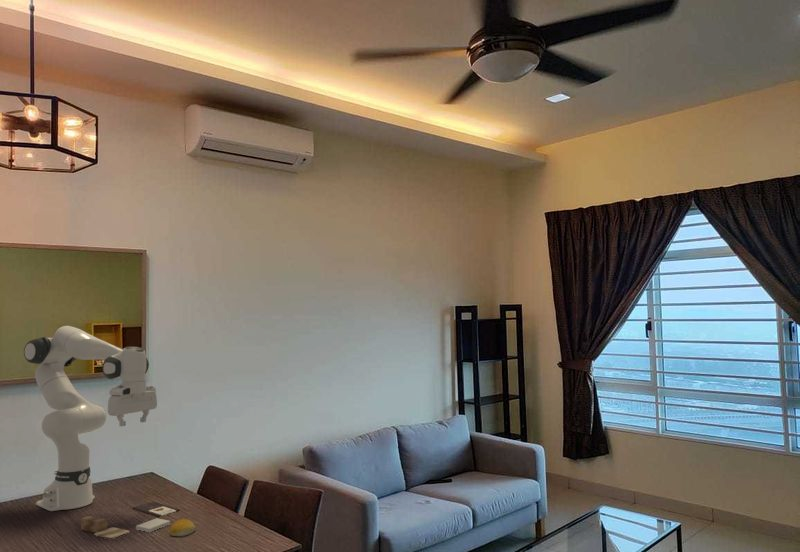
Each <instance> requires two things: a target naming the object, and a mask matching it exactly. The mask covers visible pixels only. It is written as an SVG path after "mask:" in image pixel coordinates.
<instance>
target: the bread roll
mask: <svg viewBox="0 0 800 552" xmlns="http://www.w3.org/2000/svg"><path fill="white" fill-rule="evenodd" d="M195 531H196V526H195V523H194V522H193V521H192V520H190V519H186V518H184V519H183V518H182V519H178V520H176V521H174V522H173V523H172V524H170V528H169V535H170V536H172V537H185V536H188V535H190V534H192V533H194V532H195Z"/></svg>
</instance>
